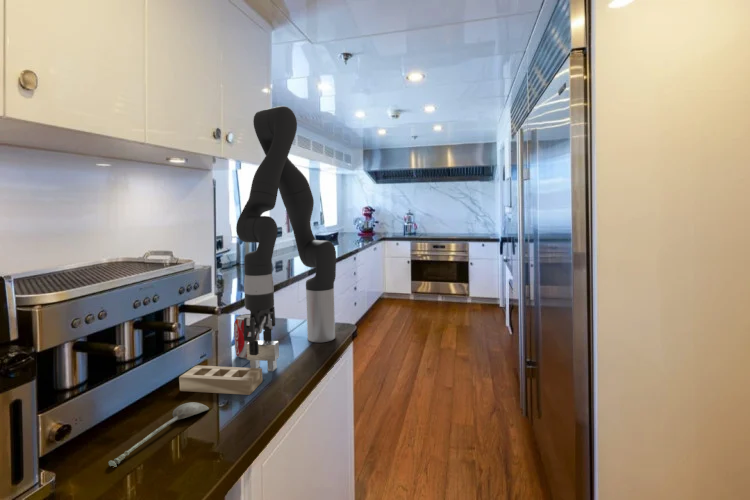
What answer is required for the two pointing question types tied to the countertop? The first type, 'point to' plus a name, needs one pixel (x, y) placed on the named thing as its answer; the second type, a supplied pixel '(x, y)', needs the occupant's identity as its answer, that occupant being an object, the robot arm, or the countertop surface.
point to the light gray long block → (265, 354)
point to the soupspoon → (178, 413)
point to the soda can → (240, 336)
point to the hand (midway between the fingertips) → (261, 349)
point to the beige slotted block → (221, 379)
